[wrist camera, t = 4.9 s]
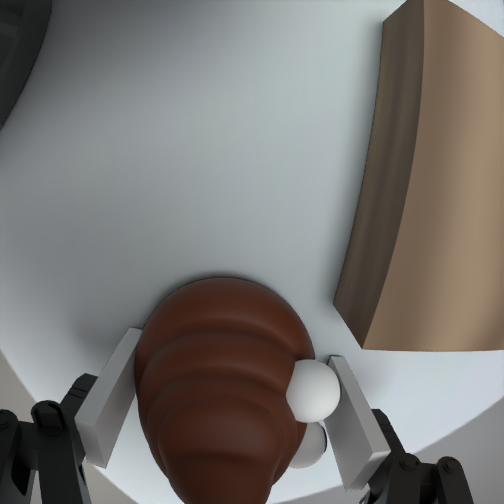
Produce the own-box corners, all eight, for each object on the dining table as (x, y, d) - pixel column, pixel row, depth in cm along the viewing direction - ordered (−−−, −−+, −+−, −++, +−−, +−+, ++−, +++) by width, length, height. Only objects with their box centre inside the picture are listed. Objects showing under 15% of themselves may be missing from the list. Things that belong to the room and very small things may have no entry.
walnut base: (333, 303, 14) (362, 349, 10) (383, 21, 11) (422, -14, 7) (509, 320, 15) (545, 346, 11) (548, 123, 12) (589, 124, 8)
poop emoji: (136, 266, 13) (16, 401, 4) (325, 272, 14) (432, 417, 5) (159, 423, 16) (126, 556, 7) (301, 427, 16) (329, 562, 7)
